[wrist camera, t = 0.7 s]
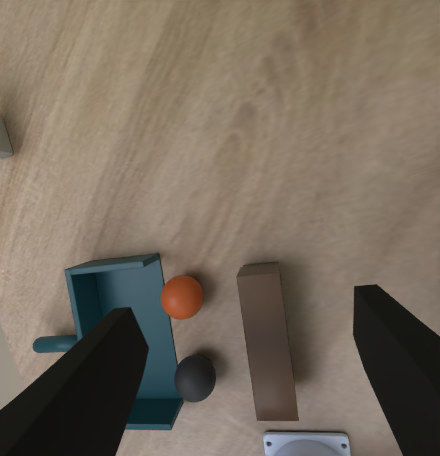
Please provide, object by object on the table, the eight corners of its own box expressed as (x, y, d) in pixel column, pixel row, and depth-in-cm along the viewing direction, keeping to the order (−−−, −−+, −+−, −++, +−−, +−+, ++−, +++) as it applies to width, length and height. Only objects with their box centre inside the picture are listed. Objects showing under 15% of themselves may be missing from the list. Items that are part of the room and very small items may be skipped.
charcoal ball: (221, 383, 29) (213, 412, 25) (184, 384, 29) (171, 412, 25) (216, 346, 28) (207, 370, 24) (179, 347, 29) (164, 371, 25)
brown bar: (294, 384, 27) (298, 421, 23) (259, 384, 28) (257, 420, 23) (278, 259, 26) (279, 272, 22) (242, 263, 27) (236, 276, 22)
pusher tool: (158, 253, 28) (142, 260, 25) (183, 403, 30) (171, 430, 26) (34, 267, 31) (4, 276, 28) (62, 403, 33) (36, 428, 29)
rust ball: (210, 308, 28) (200, 326, 24) (172, 310, 29) (157, 328, 25) (204, 269, 28) (193, 280, 24) (166, 272, 28) (150, 284, 24)
